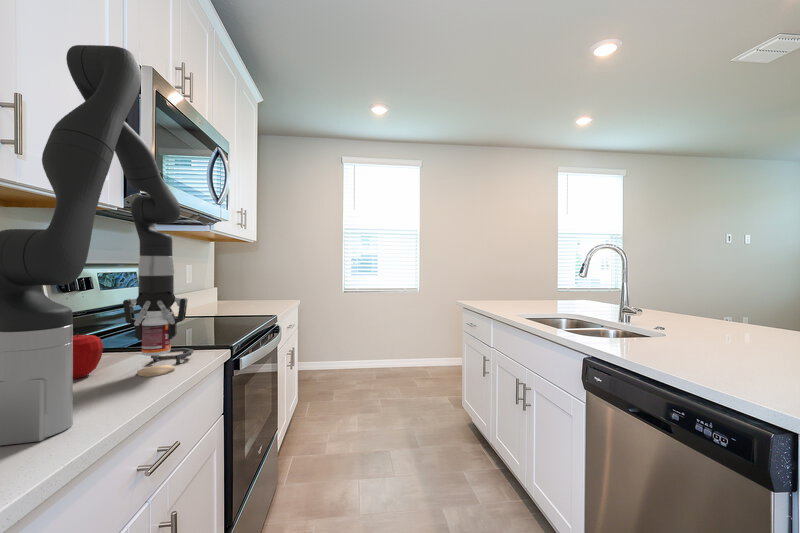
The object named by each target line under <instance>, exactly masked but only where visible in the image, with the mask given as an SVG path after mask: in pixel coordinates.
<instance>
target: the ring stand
mask: <svg viewBox="0 0 800 533" xmlns="http://www.w3.org/2000/svg"><path fill="white" fill-rule="evenodd" d="M180 352H181V353H180ZM194 352H195V351H194V348H193V349H192V348H187V347H181V348H178V347H177V348H170V352H168V353H179V354H172V355H154V356H150V359H152V362H153V363H158V360H160V361H163V360H175V364H176V365H180V364H181V359H182V358H188V357H190V356H192V355H193V353H194ZM168 353H167V354H168Z"/></svg>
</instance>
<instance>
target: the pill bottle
mask: <svg viewBox="0 0 800 533" xmlns="http://www.w3.org/2000/svg"><path fill="white" fill-rule="evenodd" d="M145 316H146V319H145V320H143V322H142V340H141V354H142V355H144V356H145V357H147V356H148V357H151V356H154V355H160V356H162V355H166V354H168V352H170V349H172V347H171V339H169V325H170V323H169V321H168V319H167V318H166V317H165V315H164V314H163V312H162V311H147V312H146V314H145ZM170 353H171V352H170Z"/></svg>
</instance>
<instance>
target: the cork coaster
mask: <svg viewBox="0 0 800 533" xmlns="http://www.w3.org/2000/svg"><path fill="white" fill-rule="evenodd" d="M175 370H176V367H175V366H174V365H171V364H164V365H162V364H160V365H152V366H148V367H144V368H141V369H139V370H138V371H137V372H136V373H137V374H136V375H137V376H139V377H159V376H163V375H167V374H170V373H172V372H175Z"/></svg>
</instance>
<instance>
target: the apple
mask: <svg viewBox="0 0 800 533" xmlns="http://www.w3.org/2000/svg"><path fill="white" fill-rule="evenodd" d="M103 352H104V344H103V341H102V339H101V338H100V337H98V336H96V335H94V334H79V333H78V332H76V334H75V335H74V334H73V380H77V379H81V378H84V377H87V376H88V375H89V374H91V373H92V372H93V371H94V370H96V369H97V367H98V365H99V363H100V361H101V359H102V356H103Z"/></svg>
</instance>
